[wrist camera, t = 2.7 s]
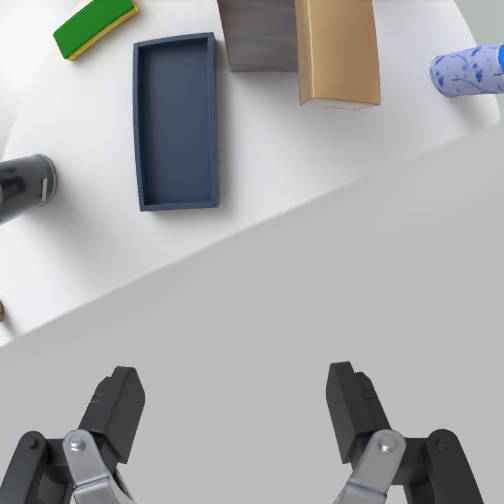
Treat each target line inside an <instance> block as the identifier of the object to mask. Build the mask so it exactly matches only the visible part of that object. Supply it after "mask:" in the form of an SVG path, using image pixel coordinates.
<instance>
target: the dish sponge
mask: <svg viewBox="0 0 504 504" xmlns="http://www.w3.org/2000/svg"><path fill="white" fill-rule="evenodd" d="M137 12H138V8H137V7H136V5H135V4H134V2H133V0H93V1H92V2H90V3H89V4H88V5H86V6H85V7H84V8H83V9H81V10H80V11H79V12H77V13H76V14H75V15H74V16H73V17H71V18H70V19H69V20H68V21H67V22H65V23H64V24H63V25H62V26H61V27H60V28H59V29H57V30H56V31H55V32H54V34H53V36H54V38H55V40H56V43H57V45H58V47H59V49H60V51H61V53H62V55H63V57H64V59H67V60H70V61H73V60H74V59H75V58H76V57H77V56H79V55H80V54H81V53H82V52H83V51H85V50H86V49H87V48H88V47H90V46H91V45H92V44H93V43H95V42H96V41H97V40H98V39H100V38H101V37H102V36H104V35H105V34H106V33H108V32H109V31H111V30H112V29H113V28H115V27H116V26H118V25H119V24H120V23H122V22H123V21H125V20H126V19H128V18H129V17H131V16H132V15H134V14H135V13H137Z"/></svg>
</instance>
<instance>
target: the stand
mask: <svg viewBox="0 0 504 504" xmlns="http://www.w3.org/2000/svg"><path fill="white" fill-rule="evenodd" d="M217 3H218V8H219V13H220V18H221V23H222V28H223V33H224V38H225V43H226V48H227V53H228V59H229V64H230V69H231V72H240V71H282V72H299V67H298V44H297V26H296V10H295V0H217Z"/></svg>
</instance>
